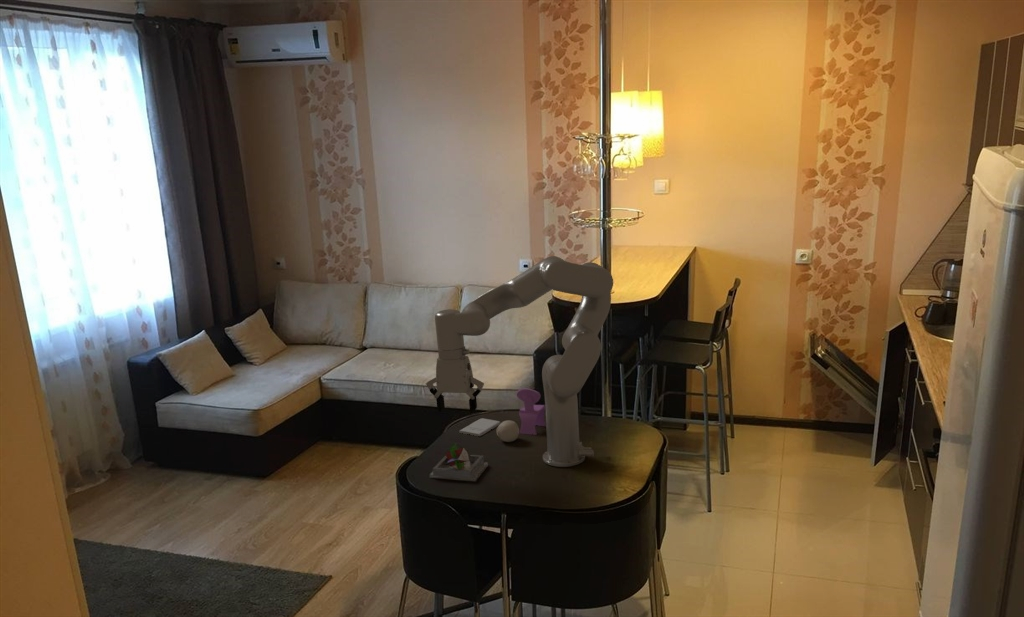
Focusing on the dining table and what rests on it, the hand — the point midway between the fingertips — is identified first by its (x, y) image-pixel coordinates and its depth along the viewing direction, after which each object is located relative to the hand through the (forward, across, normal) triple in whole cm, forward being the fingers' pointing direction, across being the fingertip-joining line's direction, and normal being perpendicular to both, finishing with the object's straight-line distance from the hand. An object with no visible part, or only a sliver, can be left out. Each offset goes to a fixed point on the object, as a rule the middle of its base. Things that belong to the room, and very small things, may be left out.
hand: (457, 410), depth 225 cm
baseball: (+19, -6, -24) cm, 31 cm away
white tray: (+19, +1, +1) cm, 19 cm away
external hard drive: (+20, +6, -33) cm, 39 cm away
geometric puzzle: (+17, +1, +1) cm, 17 cm away
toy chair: (+19, -12, -35) cm, 42 cm away
